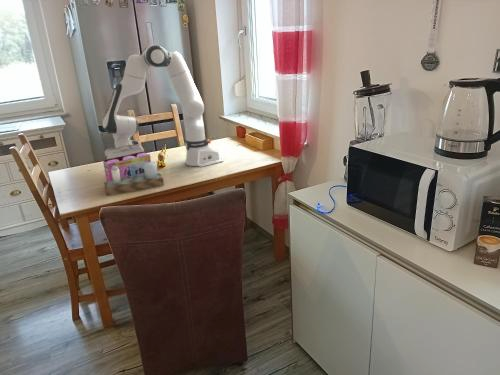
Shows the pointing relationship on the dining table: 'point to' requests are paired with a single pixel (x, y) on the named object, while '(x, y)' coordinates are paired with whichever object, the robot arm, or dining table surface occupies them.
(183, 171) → the dining table surface
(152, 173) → the white short cylinder
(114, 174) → the shaker
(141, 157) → the gum box
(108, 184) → the podium
